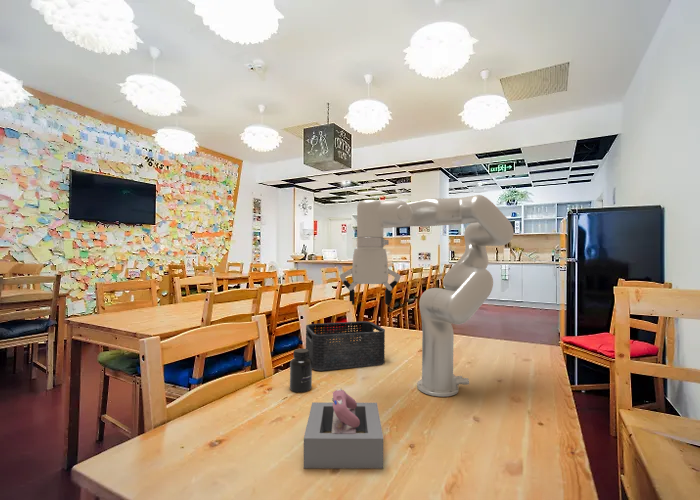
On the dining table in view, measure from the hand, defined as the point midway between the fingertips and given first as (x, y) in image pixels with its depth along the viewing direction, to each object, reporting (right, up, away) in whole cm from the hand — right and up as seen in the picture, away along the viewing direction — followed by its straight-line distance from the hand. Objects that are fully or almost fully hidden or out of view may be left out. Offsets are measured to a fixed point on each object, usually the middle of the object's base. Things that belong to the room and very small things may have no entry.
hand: (370, 304), depth 97 cm
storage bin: (-8, -29, +37) cm, 48 cm away
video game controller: (-7, -23, -21) cm, 31 cm away
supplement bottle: (-21, -28, +10) cm, 37 cm away
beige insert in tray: (-7, -24, -21) cm, 33 cm away
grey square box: (-7, -28, -21) cm, 36 cm away
